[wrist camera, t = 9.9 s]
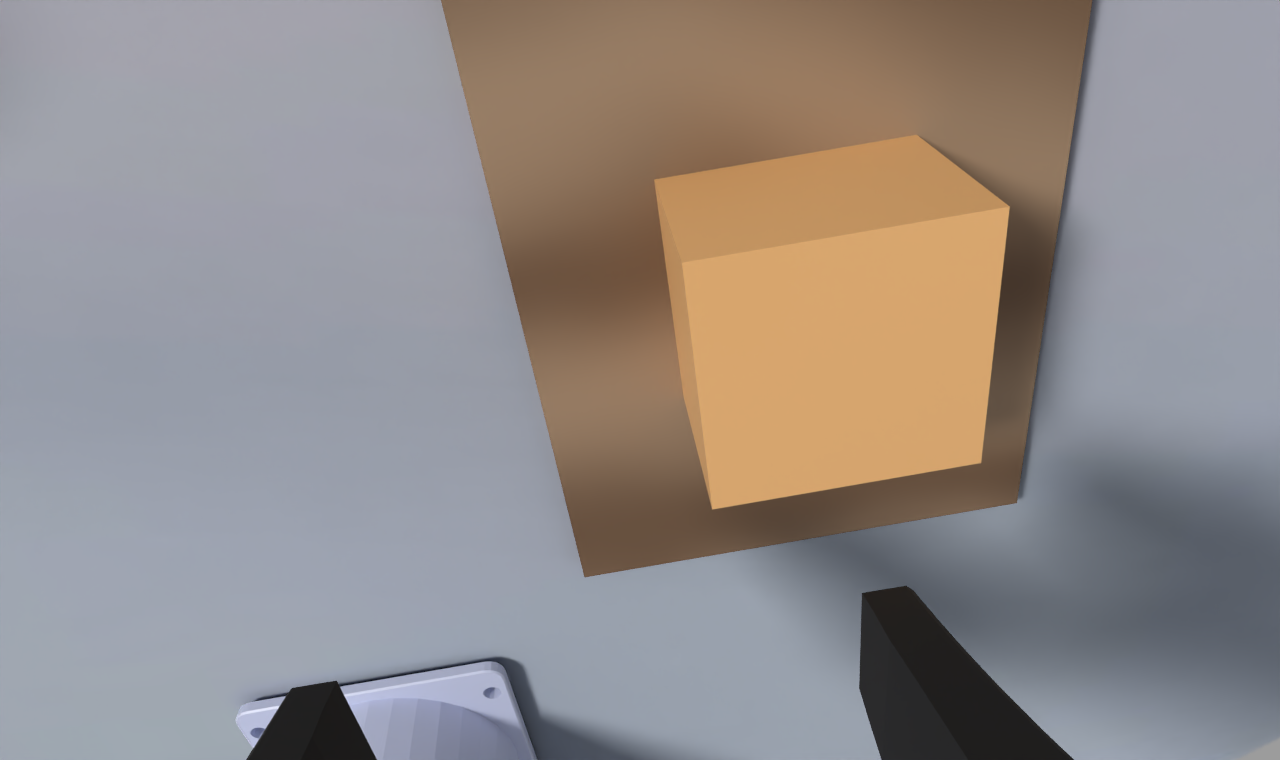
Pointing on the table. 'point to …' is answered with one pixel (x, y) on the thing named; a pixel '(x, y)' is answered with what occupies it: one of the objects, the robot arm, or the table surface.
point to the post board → (729, 136)
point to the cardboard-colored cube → (833, 316)
